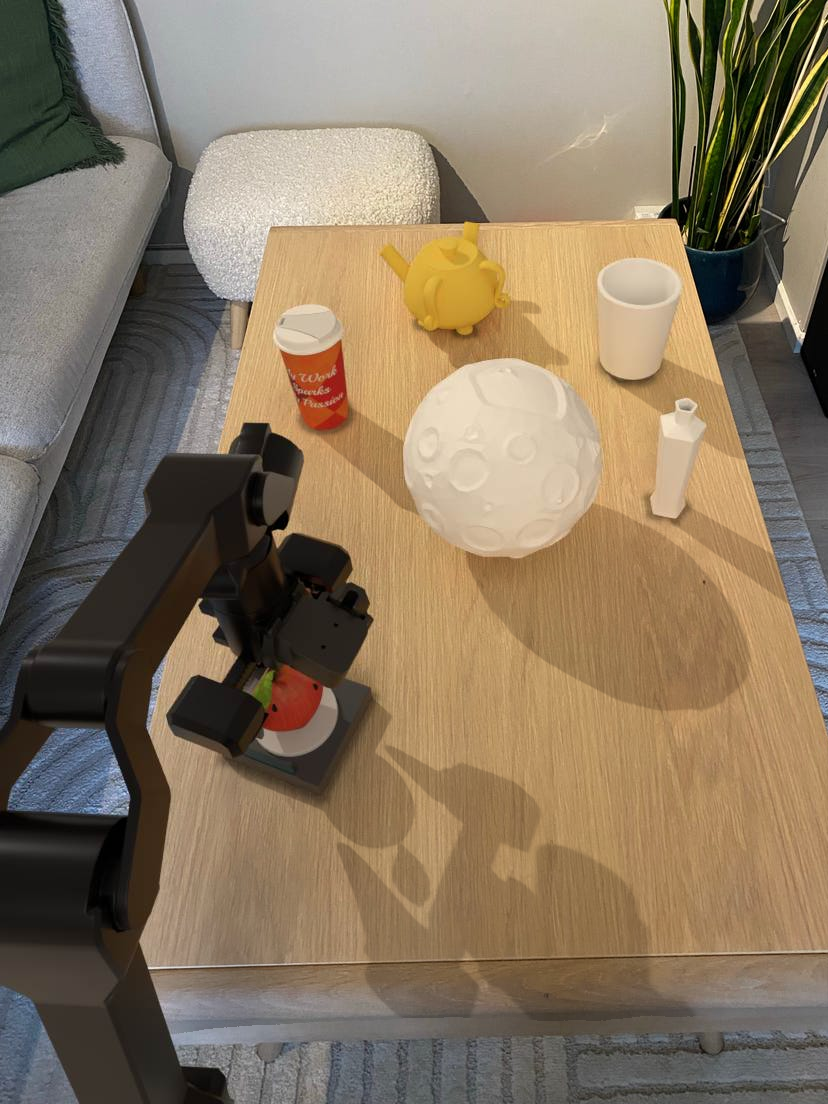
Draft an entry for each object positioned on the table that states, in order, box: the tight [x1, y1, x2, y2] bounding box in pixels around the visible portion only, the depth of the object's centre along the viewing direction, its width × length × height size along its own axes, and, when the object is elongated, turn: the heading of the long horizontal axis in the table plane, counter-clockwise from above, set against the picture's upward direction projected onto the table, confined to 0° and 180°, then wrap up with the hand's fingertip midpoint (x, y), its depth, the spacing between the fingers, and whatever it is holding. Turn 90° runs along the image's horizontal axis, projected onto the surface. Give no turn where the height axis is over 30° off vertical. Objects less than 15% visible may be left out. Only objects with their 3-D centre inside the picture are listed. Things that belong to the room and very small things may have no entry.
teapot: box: [378, 221, 511, 335], centre depth 119 cm, size 14×14×11 cm
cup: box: [596, 257, 684, 383], centre depth 110 cm, size 10×10×13 cm
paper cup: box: [272, 303, 349, 431], centre depth 106 cm, size 8×8×14 cm
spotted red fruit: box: [245, 664, 323, 732], centre depth 77 cm, size 8×7×10 cm
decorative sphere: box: [402, 357, 603, 560], centre depth 92 cm, size 20×20×20 cm
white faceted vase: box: [649, 397, 708, 519], centre depth 94 cm, size 5×4×15 cm
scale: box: [221, 677, 374, 797], centre depth 82 cm, size 10×10×3 cm
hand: (285, 688), depth 78 cm, fingers open, 9 cm apart
